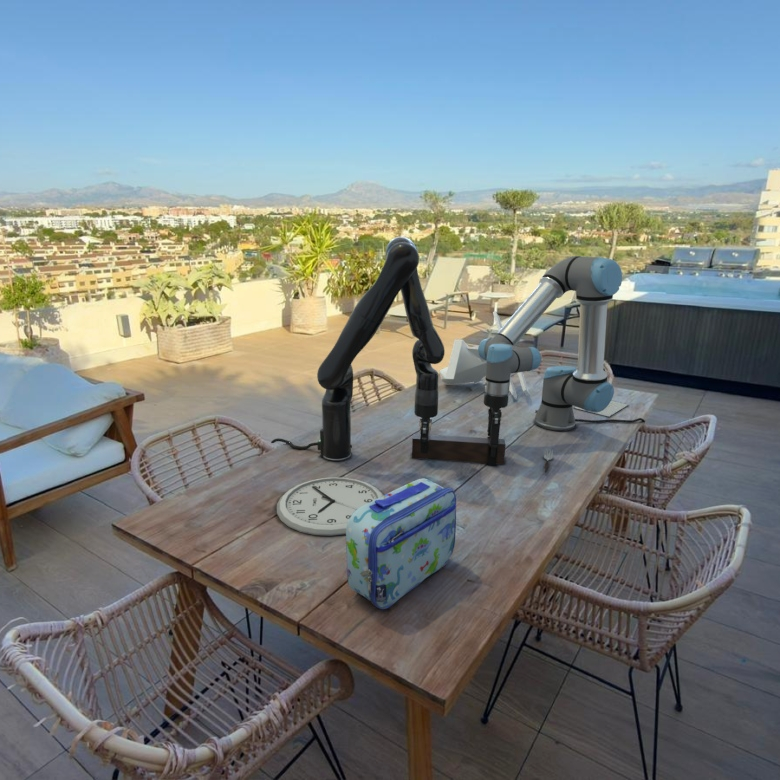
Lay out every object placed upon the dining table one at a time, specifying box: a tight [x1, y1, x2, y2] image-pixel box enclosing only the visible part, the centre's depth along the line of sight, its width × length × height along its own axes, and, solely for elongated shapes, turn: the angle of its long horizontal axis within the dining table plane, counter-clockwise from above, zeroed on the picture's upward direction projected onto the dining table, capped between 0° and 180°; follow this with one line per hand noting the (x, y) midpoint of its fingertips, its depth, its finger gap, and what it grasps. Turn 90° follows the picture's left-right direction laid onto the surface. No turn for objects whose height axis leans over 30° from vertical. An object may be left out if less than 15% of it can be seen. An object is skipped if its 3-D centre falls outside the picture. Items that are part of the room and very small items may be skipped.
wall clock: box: [276, 476, 385, 537], centre depth 142 cm, size 30×2×30 cm
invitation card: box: [573, 400, 629, 418], centre depth 226 cm, size 21×1×15 cm
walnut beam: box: [411, 433, 507, 465], centre depth 172 cm, size 30×4×7 cm, turn 83°
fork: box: [543, 448, 554, 473], centre depth 170 cm, size 3×16×2 cm, turn 160°
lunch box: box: [345, 477, 457, 610], centre depth 110 cm, size 26×11×21 cm, turn 134°
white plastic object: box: [438, 310, 531, 400], centre depth 245 cm, size 37×45×31 cm
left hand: (424, 449), depth 174 cm, fingers closed on walnut beam, 4 cm apart
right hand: (490, 459), depth 172 cm, fingers open, 6 cm apart
